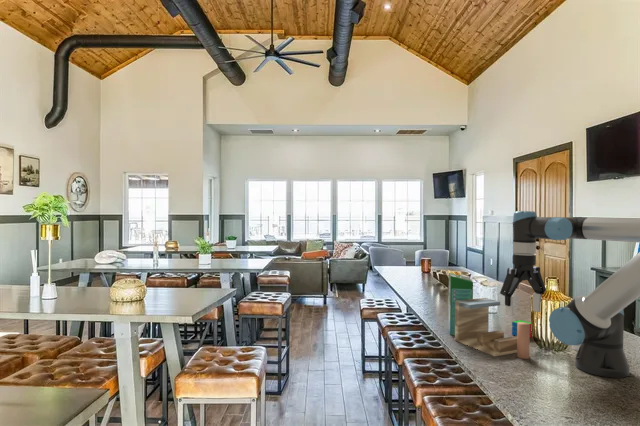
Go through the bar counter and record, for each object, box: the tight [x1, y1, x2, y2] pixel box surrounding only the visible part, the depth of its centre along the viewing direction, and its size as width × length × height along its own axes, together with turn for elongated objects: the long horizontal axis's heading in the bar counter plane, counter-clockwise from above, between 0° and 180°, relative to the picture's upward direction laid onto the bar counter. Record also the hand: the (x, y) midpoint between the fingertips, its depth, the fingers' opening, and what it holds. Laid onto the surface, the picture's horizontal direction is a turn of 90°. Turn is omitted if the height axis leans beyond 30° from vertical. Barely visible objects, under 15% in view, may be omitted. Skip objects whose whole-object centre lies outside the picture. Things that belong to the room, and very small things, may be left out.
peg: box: [516, 322, 531, 360], centre depth 154 cm, size 4×4×12 cm
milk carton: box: [447, 272, 474, 336], centre depth 184 cm, size 9×9×25 cm
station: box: [454, 297, 517, 357], centre depth 167 cm, size 20×16×16 cm
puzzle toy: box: [511, 319, 532, 338], centre depth 180 cm, size 6×6×6 cm
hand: (523, 313), depth 154 cm, fingers open, 13 cm apart
